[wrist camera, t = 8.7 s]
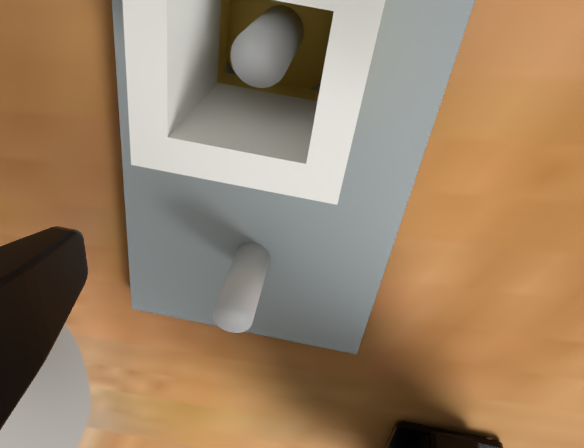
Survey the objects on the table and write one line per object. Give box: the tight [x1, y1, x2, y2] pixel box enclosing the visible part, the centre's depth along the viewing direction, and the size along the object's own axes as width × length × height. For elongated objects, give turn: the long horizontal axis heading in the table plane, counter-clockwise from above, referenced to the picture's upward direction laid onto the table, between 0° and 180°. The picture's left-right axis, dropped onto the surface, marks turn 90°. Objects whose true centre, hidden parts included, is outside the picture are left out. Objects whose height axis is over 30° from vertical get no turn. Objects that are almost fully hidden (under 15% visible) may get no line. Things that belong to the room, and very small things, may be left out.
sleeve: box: [122, 0, 385, 205], centre depth 13 cm, size 6×6×6 cm
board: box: [112, 0, 475, 355], centre depth 18 cm, size 20×12×5 cm, turn 172°
